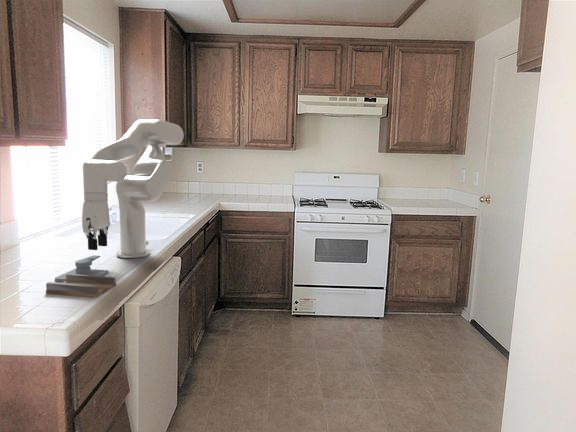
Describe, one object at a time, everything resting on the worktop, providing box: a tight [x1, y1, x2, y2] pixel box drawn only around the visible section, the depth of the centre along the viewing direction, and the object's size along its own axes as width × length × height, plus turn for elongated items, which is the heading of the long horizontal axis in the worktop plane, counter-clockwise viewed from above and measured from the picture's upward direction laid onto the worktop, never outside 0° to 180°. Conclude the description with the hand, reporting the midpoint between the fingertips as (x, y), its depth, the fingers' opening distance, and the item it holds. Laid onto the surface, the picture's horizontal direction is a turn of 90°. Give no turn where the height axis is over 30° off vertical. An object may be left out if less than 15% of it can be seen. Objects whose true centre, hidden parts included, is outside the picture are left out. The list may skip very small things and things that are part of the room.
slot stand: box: [45, 274, 117, 298], centre depth 132 cm, size 11×16×3 cm
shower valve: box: [54, 255, 109, 283], centre depth 145 cm, size 12×6×15 cm
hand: (97, 247), depth 153 cm, fingers open, 5 cm apart
